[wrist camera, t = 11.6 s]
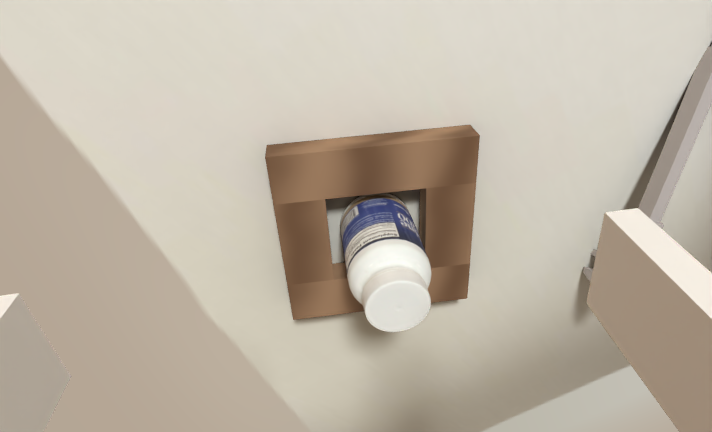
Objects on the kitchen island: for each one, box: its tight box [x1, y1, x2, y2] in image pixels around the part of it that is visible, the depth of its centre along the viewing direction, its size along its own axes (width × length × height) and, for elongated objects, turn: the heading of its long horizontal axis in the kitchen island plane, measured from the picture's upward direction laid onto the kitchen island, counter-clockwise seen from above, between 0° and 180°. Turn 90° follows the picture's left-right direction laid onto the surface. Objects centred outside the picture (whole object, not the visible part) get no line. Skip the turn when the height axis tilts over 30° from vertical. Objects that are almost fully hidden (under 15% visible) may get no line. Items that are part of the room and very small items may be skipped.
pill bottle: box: [340, 193, 431, 332], centre depth 33 cm, size 5×5×10 cm
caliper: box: [583, 45, 712, 282], centre depth 35 cm, size 20×1×6 cm, turn 167°
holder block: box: [265, 125, 480, 320], centre depth 36 cm, size 14×14×2 cm
